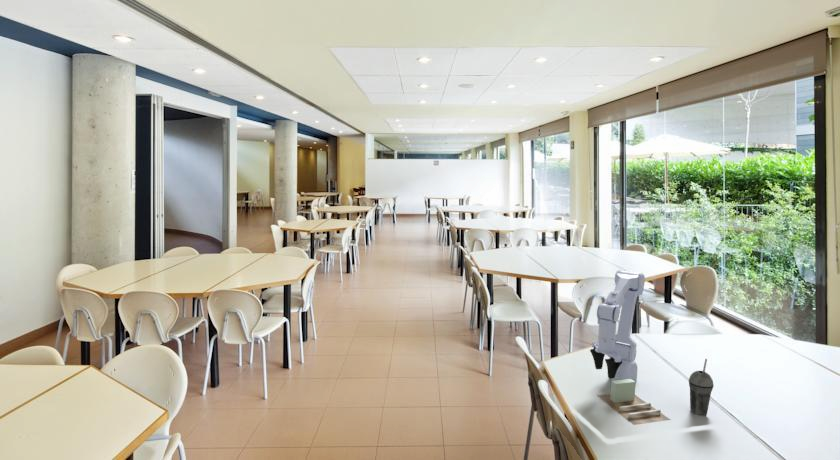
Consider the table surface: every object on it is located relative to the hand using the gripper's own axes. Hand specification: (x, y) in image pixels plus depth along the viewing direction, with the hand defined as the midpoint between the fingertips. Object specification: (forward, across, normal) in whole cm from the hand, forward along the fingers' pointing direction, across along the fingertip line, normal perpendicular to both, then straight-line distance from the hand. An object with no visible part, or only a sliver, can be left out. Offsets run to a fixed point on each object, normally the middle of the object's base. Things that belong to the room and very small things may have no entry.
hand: (604, 373), depth 165 cm
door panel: (+9, +4, +5) cm, 11 cm away
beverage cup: (+10, +17, +25) cm, 32 cm away
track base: (+10, +9, +5) cm, 14 cm away
